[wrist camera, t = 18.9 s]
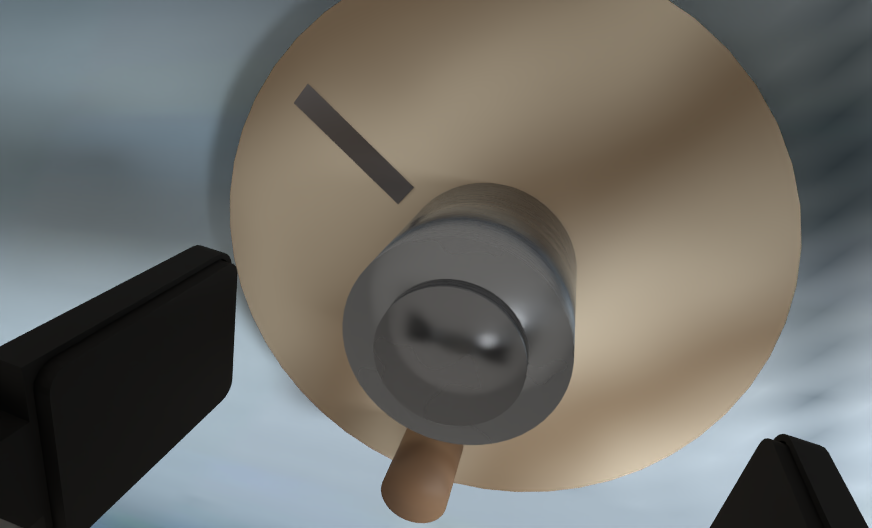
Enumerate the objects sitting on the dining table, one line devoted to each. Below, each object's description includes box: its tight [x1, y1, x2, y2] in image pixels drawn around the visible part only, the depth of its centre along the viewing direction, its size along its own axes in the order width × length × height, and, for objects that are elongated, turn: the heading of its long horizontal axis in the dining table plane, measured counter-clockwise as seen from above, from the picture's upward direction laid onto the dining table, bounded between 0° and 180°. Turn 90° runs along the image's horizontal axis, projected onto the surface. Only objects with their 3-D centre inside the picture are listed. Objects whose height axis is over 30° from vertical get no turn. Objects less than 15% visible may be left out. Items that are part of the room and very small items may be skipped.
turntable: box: [230, 0, 801, 523], centre depth 15 cm, size 16×16×4 cm
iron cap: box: [342, 183, 577, 445], centre depth 14 cm, size 5×5×5 cm
